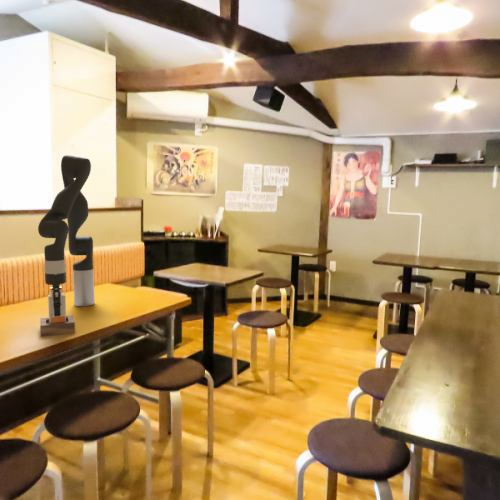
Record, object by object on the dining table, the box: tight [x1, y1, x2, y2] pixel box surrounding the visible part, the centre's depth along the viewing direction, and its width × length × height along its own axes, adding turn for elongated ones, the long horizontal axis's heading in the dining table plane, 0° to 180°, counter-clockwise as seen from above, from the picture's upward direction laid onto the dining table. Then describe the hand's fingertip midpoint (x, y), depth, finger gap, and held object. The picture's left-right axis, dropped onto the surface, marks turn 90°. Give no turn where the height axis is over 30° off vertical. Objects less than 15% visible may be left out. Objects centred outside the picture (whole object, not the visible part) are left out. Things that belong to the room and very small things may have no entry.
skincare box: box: [47, 292, 67, 323], centre depth 171 cm, size 6×4×12 cm
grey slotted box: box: [39, 314, 76, 337], centre depth 171 cm, size 11×12×4 cm
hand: (57, 314), depth 171 cm, fingers closed on skincare box, 4 cm apart
